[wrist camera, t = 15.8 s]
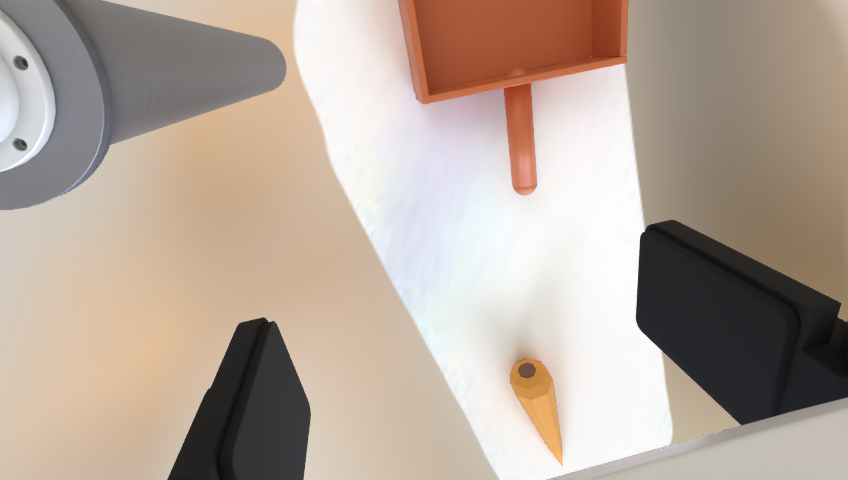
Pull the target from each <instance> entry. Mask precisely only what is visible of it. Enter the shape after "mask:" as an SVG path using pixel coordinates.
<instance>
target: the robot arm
mask: <svg viewBox="0 0 848 480" xmlns="http://www.w3.org/2000/svg"><path fill="white" fill-rule="evenodd" d="M27 62H28V64H27ZM55 113H56V108H55V95H54V90H53V87H52V83H51V80H50V76H49V73H48V71H47V69H46V67H45V65H44V63H43V61H42V59H41V57H40V55H39V53H38V52H37V50H36V49H35V48H34V46H33V45H32V43H31V42H30V40H29V39H28V37H27V36H26V35H25V34H24V33H23V32H22V30H21V29H20V28H19V27H18V26H17V25H16V24H15V23H14V22H13V20H12V19H11V18H10V17H8V16H7V15H6V14H5V13H4V12H3V11H1V10H0V172H2V171H5V170H9V169H12V168H14V167H17V166H19V165H21V164H24V163H26V162H27V161H28V160H30V159H31V158H32V157H34V156H35V155H36V154H38V153H39V151H40V150H41V149H42V148H43V146H44V145H45V144H46V143H47V141H48V139H49V136H50V134H51V132H52V129H53V126H54V120H55ZM840 306H841V303H840V302H838V301H836V300H834V299H832V298H830V297H828V296H826V295H824V294H822V293H820V292H818V291H816V290H814V289H812V288H810V287H808V286H806V285H803V284H802V283H800V282H798V281H796V280H794V279H792V278H790V277H788V276H786V275H784V274H782V273H780V272H778V271H776V270H774V269H771V268H769V267H768V266H766V265H764V264H762V263H760V262H758V261H756V260H753V259H752V258H750V257H748V256H746V255H744V254H742V253H740V252H737V251H736V250H733V249H732V248H730V247H727V246H726V245H724V244H722V243H720V242H718V241H715V240H714V239H712V238H710V237H708V236H706V235H704V234H701V233H699V232H697V231H695V230H694V229H691V228H689V227H688V226H685V225H684V224H681V223H680V222H677V221H675V220H668V221H664V222H660V223H655V224H651V225H649V226H648V227H647V228H646V230H645V232H643V233H642V234H641V237H640V251H639V270H638V288H637V307H636V321H637V324H638V327H639V328H640V330H641V331H642V332H643V333H644V334H645V335H646V336H647V337H648V338H649V339H650V340H651V341H652V342H653V343H654V344H656V345H657V346H658V347H659V348H660V349H661V350H662V351H663V352H664V353H665V354H666V355H667V356H668V357H669V358H670V359H672V360H673V361H674V362H675V363H676V364H677V365H678V366H679V367H680V368H681V369H682V370H683V371H684V372H685V373H686V374H687V375H688V376H690V377H691V378H692V379H693V380H694V381H695V382H696V383H697V384H698V385H699V386H700V387H701V388H702V389H703V390H704V391H706V392H707V393H708V394H709V395H710V396H711V397H712V398H713V399H714V400H715V401H716V402H717V403H718V404H719V405H721V406H722V407H723V408H724V409H725V410H726V411H727V412H728V413H729V414H730V415H731V416H732V417H733V418H734V419H735V420H736V421H737V422H738V423H739V424H741V425H742V426H738V427H734V428H731V429H727V430H723V431H720V432H717V433H712V434H709V435H705V436H702V437H698V438H695V439H691V440H687V441H684V442H680V443H676V444H672V445H669V446H665V447H662V448H658V449H654V450H651V451H647V452H644V453H640V454H637V455H633V456H629V457H626V458H622V459H619V460H615V461H612V462H608V463H604V464H601V465H597V466H594V467H590V468H587V469H583V470H580V471H576V472H573V473H569V474H565V475H562V476H558V477H555V478H551V479H548V480H848V322H845V321H843V320H842V319H839V318H838V317H837V316H838V313H839V309H840ZM310 417H311V413H310V405H309V402H308V399H307V397H306V394H305V392H304V389H303V387H302V385H301V382H300V380H299V377H298V375H297V372H296V370H295V367H294V365H293V363H292V360H291V358H290V355H289V353H288V350H287V348H286V345H285V343H284V341H283V338H282V336H281V333H280V331H279V328H278V326H277V324H276V323H275V322H274V321H272V322H268V320H266V318H259V319H254V320H250V321H246V322H242V323H240V324H238V326H237V328H236V330H235V332H234V335H233V337H232V340H231V342H230V344H229V346H228V349H227V351H226V353H225V356H224V358H223V360H222V363H221V365H220V367H219V370H218V372H217V374H216V377H215V379H214V381H213V384H212V386H211V388H210V389H208V390H207V392H206V394H205V395H204V398H203V400H202V402H201V405H200V407H199V409H198V411H197V414H196V416H195V418H194V420H193V423H192V425H191V427H190V430H189V432H188V434H187V436H186V439H185V441H184V443H183V445H182V448H181V450H180V453H179V454H178V457H177V459H176V461H175V464H174V466H173V468H172V470H171V473H170V475H169V477H168V479H167V480H303V478H304V469H305V461H306V452H307V443H308V435H309V426H310Z"/></svg>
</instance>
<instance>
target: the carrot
mask: <svg viewBox="0 0 848 480" xmlns="http://www.w3.org/2000/svg"><path fill="white" fill-rule="evenodd" d="M510 383H511V386H512V388H513V390H514V392H515V394H516V396H517V398H518V399H519V401H520V403H521V404H522V406H523V408H524V409H525V411H526V412H527V414H528V416H529V417H530V419H531V420H532V422H533V424H534V425H535V427H536V428H537V430H538V432H539V433H540V435H541V437H542V438H543V440H544V441H545V443H546V445H547V446H548V448H549V449H550V450H551V452H552V453H553V454H554V456H555V457H556V458H557V460H558V461H559V462H560V464H561V465H562V446H561V436H560V429H559V422H558V414H557V407H556V400H555V393H554V385H553V380H552V378H551V376H550V374H549V373H548V371H547V369H546V368H545V366H544V365H543V364H542V363H541V362H540V361H536V360H532V359H525V360H523V361H520V362H518V363H516V364H515V365H514V368H513V370H512V372H511V374H510Z"/></svg>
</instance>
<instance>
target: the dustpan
mask: <svg viewBox="0 0 848 480" xmlns="http://www.w3.org/2000/svg"><path fill="white" fill-rule="evenodd" d="M398 2H399V7H400V13H401V19H402V24H403V30H404V36H405V41H406V47H407V52H408V58H409V64H410V69H411V75H412V81H413V86H414V92H415V93H416V99H417V100H418V101H420V102H421V103H422V104H428V103H433V102H438V101H443V100H448V99H453V98H458V97H463V96H467V95H472V94H477V93H482V92H487V91H492V90H497V89H502V88H504V97H505V108H506V119H507V131H508V142H509V153H510V164H511V175H512V185H513V188H514V190H515V191H516V192H517V193H518V194H521V195H528V194H530V193H532V192H533V191H534V190H535V188H536V185H537V175H536V159H535V143H534V127H533V112H532V96H531V82H536V81H541V80H546V79H550V78H555V77H560V76H565V75H570V74H575V73H580V72H585V71H589V70H594V69H599V68H604V67H609V66H614V65H619V64H624V63H626V59H627V56H626V55H627V27H628V0H398ZM575 60H576V61H575ZM570 61H571V62H570ZM565 62H566V63H565ZM560 63H561V64H560ZM555 64H556V65H555ZM550 65H551V66H550ZM545 66H546V67H545ZM540 67H541V68H540ZM501 75H502V76H501ZM496 76H497V77H496ZM491 77H492V78H491ZM486 78H487V79H486ZM481 79H482V80H481ZM476 80H477V81H476ZM452 85H453V86H452ZM447 86H448V87H447ZM442 87H443V88H442ZM437 88H438V89H437ZM432 89H433V90H432Z"/></svg>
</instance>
